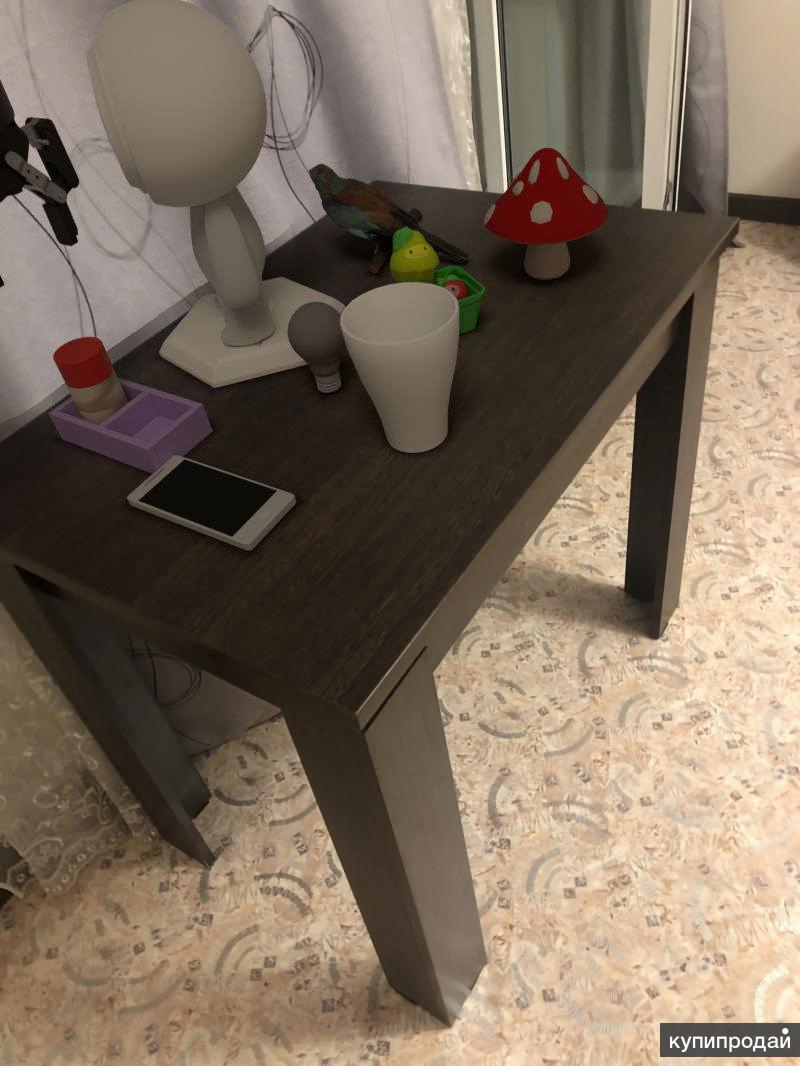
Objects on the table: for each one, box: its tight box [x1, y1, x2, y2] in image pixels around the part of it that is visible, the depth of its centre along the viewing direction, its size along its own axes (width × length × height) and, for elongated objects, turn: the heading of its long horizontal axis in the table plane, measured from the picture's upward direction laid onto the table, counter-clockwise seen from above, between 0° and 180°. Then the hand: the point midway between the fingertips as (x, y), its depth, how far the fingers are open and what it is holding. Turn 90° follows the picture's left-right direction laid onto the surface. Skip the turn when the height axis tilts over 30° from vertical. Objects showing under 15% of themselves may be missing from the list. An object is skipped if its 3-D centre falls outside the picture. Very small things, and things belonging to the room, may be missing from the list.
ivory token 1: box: [64, 368, 124, 413], centre depth 85 cm, size 5×5×3 cm
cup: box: [340, 282, 460, 454], centre depth 76 cm, size 10×10×14 cm
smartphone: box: [126, 455, 297, 551], centre depth 76 cm, size 7×15×1 cm, turn 59°
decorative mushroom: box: [483, 147, 609, 281], centre depth 94 cm, size 14×14×15 cm
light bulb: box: [287, 302, 346, 394], centre depth 84 cm, size 6×6×10 cm
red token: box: [52, 336, 114, 389], centre depth 83 cm, size 5×5×3 cm
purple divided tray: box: [48, 376, 214, 475], centre depth 85 cm, size 8×15×4 cm, turn 57°
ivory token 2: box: [79, 393, 129, 425], centre depth 87 cm, size 5×5×3 cm
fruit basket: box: [389, 227, 486, 335], centre depth 90 cm, size 11×9×11 cm
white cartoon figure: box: [85, 0, 346, 389], centre depth 86 cm, size 20×23×35 cm
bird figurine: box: [308, 163, 470, 275], centre depth 104 cm, size 13×10×20 cm
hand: (33, 264), depth 74 cm, fingers open, 8 cm apart
